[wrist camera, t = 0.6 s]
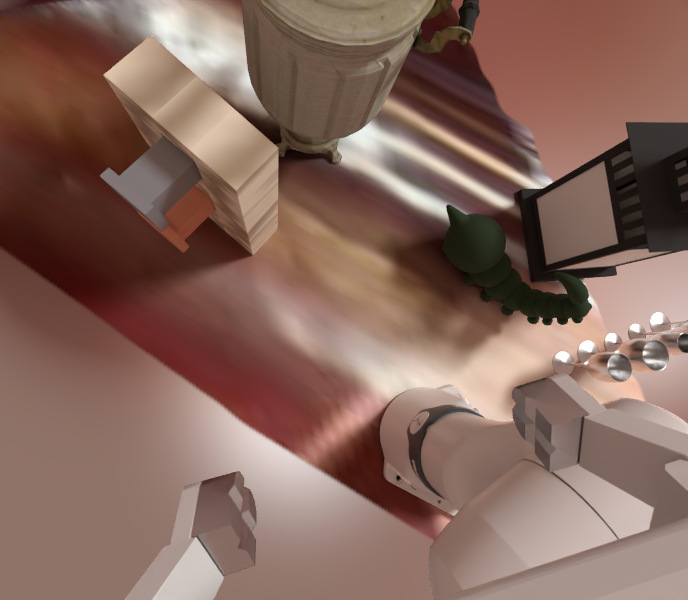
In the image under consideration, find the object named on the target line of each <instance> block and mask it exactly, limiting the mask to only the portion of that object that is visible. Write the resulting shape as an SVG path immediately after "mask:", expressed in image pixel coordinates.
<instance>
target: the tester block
mask: <svg viewBox="0 0 688 600" xmlns="http://www.w3.org/2000/svg"><path fill="white" fill-rule="evenodd" d="M104 76H105V78H106V80H107V81H108V83H109V84H110V86H111V87H112V89H113V91H114V92H115V94H116V95H117V97H118V98H119V100H120V102H121V103H122V105H123V106H124V108H125V109H126V111H127V113H128V114H129V116H130V117H131V119H132V120H133V122H134V124H135V125H136V127H137V128H138V130H139V131H140V133H141V134H142V136H143V138H144V139H145V141H146V142H147V144H148V145H149V147H152V146H153V145H154V144H155V143H156V142H157V141H158V140H159V139H160V138H161V137H162V136H165V137H166V138H167V139H168V140H169V141H171V142H172V143H173V144H174V145H175V146H176V147H178V148H179V149H180V150H181V151H182V152H183V153H184V154H186V155H187V156H188V157H189V158H190V159H191V160H192V161H194V162H195V163H196V165H197V168H198V170H199V172H200V174H201V177H202V179H201V180H200V181H199V182H198V183H197V184H196V185H195V186H197V187H198V188H199V189H200V190H201V191H202V192H203V193H205V194H206V195H207V196H208V197H209V198H210V199H212V201H213V204H214V206H215V208H216V209H215V210H214V211H213V212H212V213H211V214H210V215H209V216H208V217H209V218H210V219H211V220H213V221H214V222H215V223H216V224H217V225H218V226H220V227H221V228H222V229H223V230H224V231H225V232H227V233H228V234H229V235H230V236H231V237H232V238H233V239H235V240H236V241H237V242H238V243H239V244H240V245H242V246H243V247H244V248H245V249H246V250H247V251H249V252H250V253H251V254H252V255H254V254H255V253H256V252H257V251H258V249H259V248H260V247H261V246H262V245H263V244H264V243H265V242H266V241H267V240H268V239H269V238H270V237H271V236H272V235H273V234H274V232H275V231H276V230H277V229H278V147H277V146H276V145H274V144H273V143H272V142H271V141H270V140H269V139H268V138H266V137H265V136H264V135H263V134H262V133H261V132H260V131H259V130H257V129H256V128H255V127H254V126H253V125H252V124H251V123H250V122H248V121H247V120H246V119H245V118H244V117H243V116H242V115H240V114H239V113H238V112H237V111H236V110H235V109H234V108H233V107H231V106H230V105H229V104H228V103H227V102H226V101H225V100H224V99H222V98H221V97H220V96H219V95H218V94H217V93H216V92H214V91H213V90H212V89H211V88H210V87H209V86H208V85H207V84H205V83H204V82H203V81H202V80H201V79H200V78H199V77H198V76H196V75H195V74H194V73H193V72H192V71H191V70H190V69H188V68H187V67H186V66H185V65H184V64H183V63H182V62H181V61H179V60H178V59H177V58H176V57H175V56H174V55H173V54H172V53H170V52H169V51H168V50H167V49H166V48H165V47H164V46H162V45H161V44H160V43H159V42H158V41H157V40H156V39H155V38H153V37H152V36H150V37H148V38H147V39H146V40H145V41H144V42H142V43H141V44H140V45H139V46H138V47H136V48H135V49H134V50H133V51H132V52H130V53H129V54H128V55H127V56H126V57H124V58H123V59H122V60H121V61H120V62H118V63H117V64H116V65H115V66H114V67H112V68H111V69H110V70H109V71H108V72H106V73H105V74H104Z"/></svg>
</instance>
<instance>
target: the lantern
mask: <svg viewBox="0 0 688 600" xmlns="http://www.w3.org/2000/svg"><path fill="white" fill-rule="evenodd" d="M626 127H627V132H628V137H629V138H628V139H626V140H625V141H623V142H621V143H620V144H618V145H616V146H614V147H613V148H611V149H609V150H608V151H606V152H604V153H603V154H601V155H600V156H598V157H596V158H594V159H592V160H591V161H589V162H587V163H586V164H584V165H582V166H581V167H579V168H577V169H576V170H574V171H572V172H571V173H569V174H567V175H565V176H564V177H562V178H560V179H559V180H557V181H555V182H553V183H552V184H550V185H548V186H547V187H545V188H543V189H521V190H520V191H518V196H519V202H520V209H521V216H522V223H523V230H524V237H525V243H526V250H527V257H528V264H529V271H530V278H531V282H541V281H554V280H557V279H556V278H555V277H554V273H556V272H561V273H565V274H569V275H572V276H574V277H576V278H577V279H580V278H593V277H606V276H614V275H617V272H616V266H619V265H624V264H628V263H632V262H637V261H641V260H645V259H649V258H653V257H658V256H662V255H667V254H670V253H675V252H679V251H684V250H688V123H647V122H646V123H644V122H626Z"/></svg>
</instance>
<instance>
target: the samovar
mask: <svg viewBox="0 0 688 600" xmlns="http://www.w3.org/2000/svg"><path fill="white" fill-rule="evenodd" d="M451 2H452V0H437V3H436V5H435V6H433V5H434V3H435V0H241V4H242V14H243V24H244V34H245V44H246V54H247V64H248V71H249V76H250V80H251V84H252V86H253V88H254V91H255V93H256V95H257V97H258V99H259V100H260V102H261V104H262V105H263V107H264V108H265V109H266V111H267V112H268V113H269V114H270V115H271V116H272V117H273V118H274V119H275V120H276V121H277V122H278V123H279V126H280V134H281V143H279V144H276V146H277V147H278V156H281V157H283V156H284V154H285V152H286V151H287V150H289V149H293V150H297V151H301V152H303V153H311V154H316V153H323V154H328V155H330V157H331V159H332V163H334V164H338V163H340V161H341V158H342V156H341V154H340V153H339V152H338V151H337V145H338V140H339V138H343V137H347V136H349V135H351V134H353V133H355V132H357V131H359V130H360V129H362V128H363V127H364V126H366V125H367V124H368V123H369V122H370V121H371V120H373V119H374V118H375V116H376V115H377V114H378V112H379V111H380V110H381V108H382V106H383V104H384V102H385V100H386V98H387V96H388V94H389V92H390V90H391V88H392V86H393V84H394V82H395V80H396V78H397V75H398V73H399V71H400V69H401V67H402V65H403V63H404V61H405V59H406V57H407V55H408V53H409V51H410V48H411V49H412V47H415V48H416V49H418V50H419V51H420V52H424V53H428V54H429V53H433V52H441V51H442V49H443V48H444V46H445V44H446V43H447V41H448V40H457V41H459V42H460V43H461V44H462V45H463V44H465V43H466V42H468V41H470V39H471V38H472V34H473V31H474V25H475V22H476V18H477V17H478V15H479V13H480V10H479V6H478V4H479V0H464V1H463V4H462V6H461V7H460V9H459V15H460V20H459V27H447V28H446V29H444V30H443V31H442V32H436V33H435V34H434V37H433V39H432V40H431V42H427V41H425V40H424V39H422V38H421V37H419V35H420V33H421V32H422V30H421V29H420V25H421V22H422V21H423V20H426V19H429V18H433V17H435V16H436V15H437V14H439V13H440V12H441V11H444V10H447V9H448V8H449V6H450V4H451Z"/></svg>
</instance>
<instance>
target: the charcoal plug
mask: <svg viewBox="0 0 688 600" xmlns="http://www.w3.org/2000/svg"><path fill="white" fill-rule="evenodd" d="M100 177H101V178H102V179H103V180H104V181H105V182H106V183H107V184H108V185H109V186H110V187H111V188H112V189H114V190H115V191H116V192H117V193H118V194H119V195H120V196H121V197H122V198H123V199H124V200H125V201H126V202H128V203H129V204H130V205H131V206H132V207H134V208H135V209H136V210H137V211H138V212H139V213H141V214H142V215H143V216H144V217H145V218H146V219H148V220H149V221H150V222H151V223H152V224H153V225H155V226H156V227H157V228H158V229H159V230H161V231H163V230H164V229H165V228H166V227H167V226H168V225H169V222H168V221H167V220H166V219H165V218H164V217H163V216H164V215H165V214H166V213H167V212H168V211H169V210H170V209H171V208H172V207H173V206H174V205H175V204H176V203H177V202H178V201H179V200H180V199H181V198H182V197H183V196H184V195H185V194H186V193H187V192H188V191H189V190H190V189H192V188H193V187H194V186H195V185H196V184H197V183H198V182H199V181H200V180H201V179H202V177H201V174H200V172H199V170H198V168H197V165H196V163H195V162H194V161H192V160H191V159H190V158H189V157H188V156H187V155H186V154H184V153H183V152H182V151H181V150H180V149H179V148H178V147H176V146H175V145H174V144H173V143H172V142H171V141H169V140H168V139H167V138H166V137H165V136H162V137H161V138H160V139H159V140H158V141H157V142H156V143H155V144H154V145H153V146H152V147H150V148H149V149H148V150H147V151H146V152H145V153H144V154H143V155H142V156H141V157H140V158H138V159H137V160H136V161H135V162H134V163H133V164H132V165H131V166H130V167H129V168H127V169H126V170H125V171H124V172H123V173H122V174H121V175H120V176H118V175H117V174H116V173H115V172H114V171H113V170H111V169H110V168H108V169H106V170H105V171H104V172H103V173H102V174H101V175H100Z"/></svg>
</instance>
